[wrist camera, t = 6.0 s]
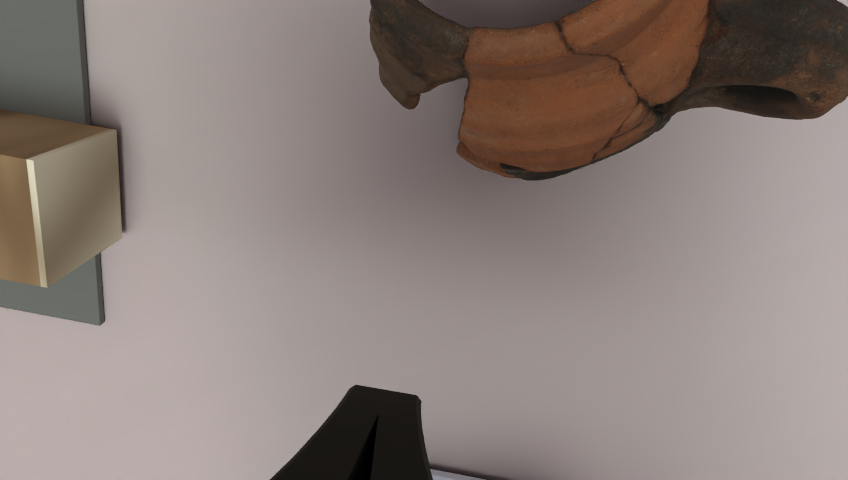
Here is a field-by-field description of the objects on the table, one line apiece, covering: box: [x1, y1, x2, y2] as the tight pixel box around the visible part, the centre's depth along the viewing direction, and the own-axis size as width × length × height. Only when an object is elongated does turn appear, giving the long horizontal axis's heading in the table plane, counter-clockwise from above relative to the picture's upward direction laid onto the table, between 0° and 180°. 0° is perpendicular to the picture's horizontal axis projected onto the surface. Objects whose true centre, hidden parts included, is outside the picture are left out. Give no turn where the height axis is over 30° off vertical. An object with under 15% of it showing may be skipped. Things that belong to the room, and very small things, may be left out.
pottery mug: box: [369, 0, 848, 180], centre depth 15 cm, size 12×10×8 cm
